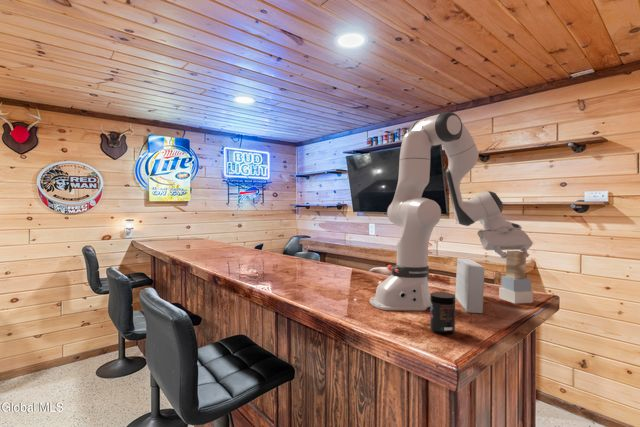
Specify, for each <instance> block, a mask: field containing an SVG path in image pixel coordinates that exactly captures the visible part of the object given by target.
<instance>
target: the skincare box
mask: <svg viewBox="0 0 640 427" xmlns="http://www.w3.org/2000/svg"><path fill="white" fill-rule="evenodd" d="M455 278H456V279H455V294H454V295H455V300H456V301H458V303H459V304H460V305H461V306H462V308H463V309H464V310H465V311H466V312H467V313H473V314H483V312H484V311H483V310H484V308H483V307H484V306H483V305H484V291H485V290H484V287H485V285H484V284H485V266H483V265H482V264H480V263H478V262H476V261H474V260H473V259H471V258H460V257H458V258H457V259H456V276H455Z"/></svg>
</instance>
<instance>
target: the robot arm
mask: <svg viewBox="0 0 640 427" xmlns="http://www.w3.org/2000/svg"><path fill="white" fill-rule="evenodd" d="M400 145H401V146H400V150H399V151H400V152H399V165H398V176H397V177H398V179H397V184H396V189H395V193H394V196H393V199H392V201H391V203H390V204H389V205H388V207H387V211H386V214H387V217H388V219H389V221H390V222H391V223H393V224H394V225H395V226H398V227H402V228H403V230H402V234H401V237H400V239H399V240H398V241H397V244H396V264H395V265H391V264H388V265H387V267H386V269H387V271H390V272H391V274H390V275H389V276H388V277H387V278H385V279H384V280H383V281H382V282H380V283H379V284H378V285H377V286H376V289H375V290H376V291H375V295H374V296H372V297H370V298H369V303H370V305H371V306H373V307H374V308H376V309H379V310H382V311H426V310H427V309H428V308H430V302H431V300H430V290H429V277H430V276H429V275H430V272H429V270H430V269H429V266H428V253H429V252H428V250H429V243H430V238H431V235H432V232H433V230H434V229H435V228H434V227H436V225H438V224H439V222H440V219H441V216H442V209H441V206H440V205H439V204H438V202H436V201H435V200H433V199H429V198H428V197H427V198H426V197H422V196H423V193H424V191H425V189H426V187H427V186H428V184H430V178H431V177H430V175H431V174H430V173H431V148H432V146H439V145H441V146H442V147H443V150H444V151H445V155H446V156H447V160H448V166H447V169H446V170H445V179H446V184H447V188H448V192H449V195H450V196H449V197H450V199H451V203H452V209H453V215H454V218H455V220H456V221H457V223H458V224H459V225H462V226H466V227H469V226H471V225H473V224H475V223H476V222H479V223H480V224H481V226H483V229H480V230H478V231H477V233H476V234H477V237H479V241H480V243H481V245H482V247H483V249H485V250H486V251H494V252H495V253H496V254H497V255H499V256H500V258H502V259H507V251H521V252H526V259H527V258H529V256H530V254H529V253H528V250H529V249H530V248H531V247H532V246H533V240H532V239H531V238H530V237H529V235H528V234H527V232H525V230H522V228H523V227H522V226H521V225H520V224H517V223H514V222H510V221H509V220H506V219H505V218H504V217H503V216H502V213H503V209H504V203H503V201H502V200H501V199H500V197H499V196H498V194H497V193H496V192H494V191H492V190H490V191H489V190H488V191H485V192H482V193H480V194H478V195H476V196H473V197H472V198H468V199H466V200H463V198H462V193H461V188H460V184H461V182H462V180H463V179H464V177H466V176H467V174H468V173H469V172H471V170H473V168H474V167H475V166H476V164H477V163H478V160H479V155H480V154H479V150H478V147H477V145H476V142H475V140H474V137H472V135H471V133H470V131H469V130H468V128H467V126H465V124H464V123H463V122H462V119H461V118H460V117H459V115H457V114H456V113H455V112H452V111H445V112H441V113H437V114H435V115H430V116H427V117H425V118H422V119H421V120H417V121H416V122H414V123H413V124H412V125H411V126H410V128H409V129H408V132H406V133H405V134H404V135H403V137H402V140H401V144H400ZM505 251H506V252H505Z"/></svg>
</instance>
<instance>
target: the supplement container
mask: <svg viewBox="0 0 640 427" xmlns="http://www.w3.org/2000/svg"><path fill="white" fill-rule="evenodd" d="M429 295H430V300H431V302H430V307H429V309H430V310H429V311H430V312H429V313H430V314H429V315H430V316H429V317H430V318H429V319H430V320H429V321H430V322H429V324H430V326H429V328H430V330H431V331H432V332H433V333H435V334H438V335H442V336H444V335H445V336H450V335H453V334H455V331H456V297H455V294H453V293H450V292H443V291H433V292H431V293H429Z"/></svg>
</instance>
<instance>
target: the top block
mask: <svg viewBox="0 0 640 427" xmlns="http://www.w3.org/2000/svg"><path fill="white" fill-rule="evenodd" d="M501 287H502V288H505V289H508V290H510V291H513V292H522V291H532V279H531V278H527V277H525V279H514V278H510V277H507V276H506V275H501Z"/></svg>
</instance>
